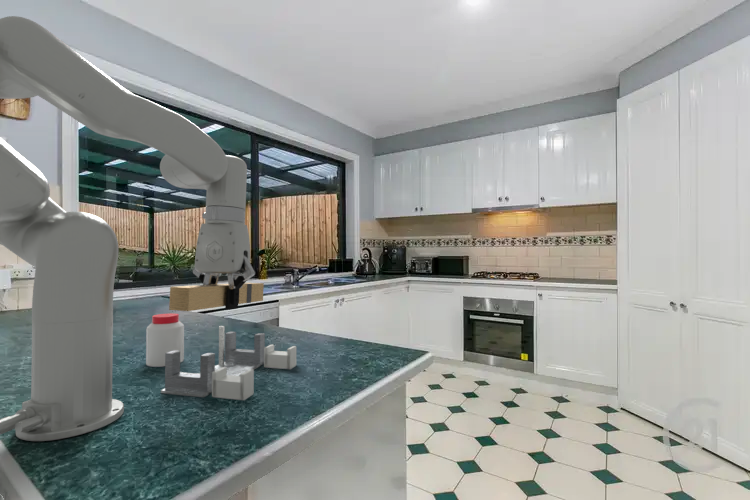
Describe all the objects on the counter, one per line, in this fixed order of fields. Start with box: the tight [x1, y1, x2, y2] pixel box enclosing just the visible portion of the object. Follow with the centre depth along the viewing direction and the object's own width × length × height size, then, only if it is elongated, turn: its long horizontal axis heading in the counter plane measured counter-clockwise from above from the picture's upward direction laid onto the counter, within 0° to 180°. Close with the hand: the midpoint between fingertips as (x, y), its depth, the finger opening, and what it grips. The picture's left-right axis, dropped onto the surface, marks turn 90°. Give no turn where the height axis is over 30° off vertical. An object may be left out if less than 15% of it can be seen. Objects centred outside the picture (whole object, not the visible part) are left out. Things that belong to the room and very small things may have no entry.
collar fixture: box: [160, 325, 266, 398], centre depth 78 cm, size 22×9×9 cm, turn 167°
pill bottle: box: [145, 312, 185, 368], centre depth 88 cm, size 8×8×11 cm
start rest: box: [211, 344, 297, 401], centre depth 76 cm, size 21×6×4 cm, turn 167°
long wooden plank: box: [168, 282, 265, 312], centre depth 76 cm, size 23×4×4 cm, turn 164°
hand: (221, 307), depth 76 cm, fingers closed on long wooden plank, 4 cm apart
